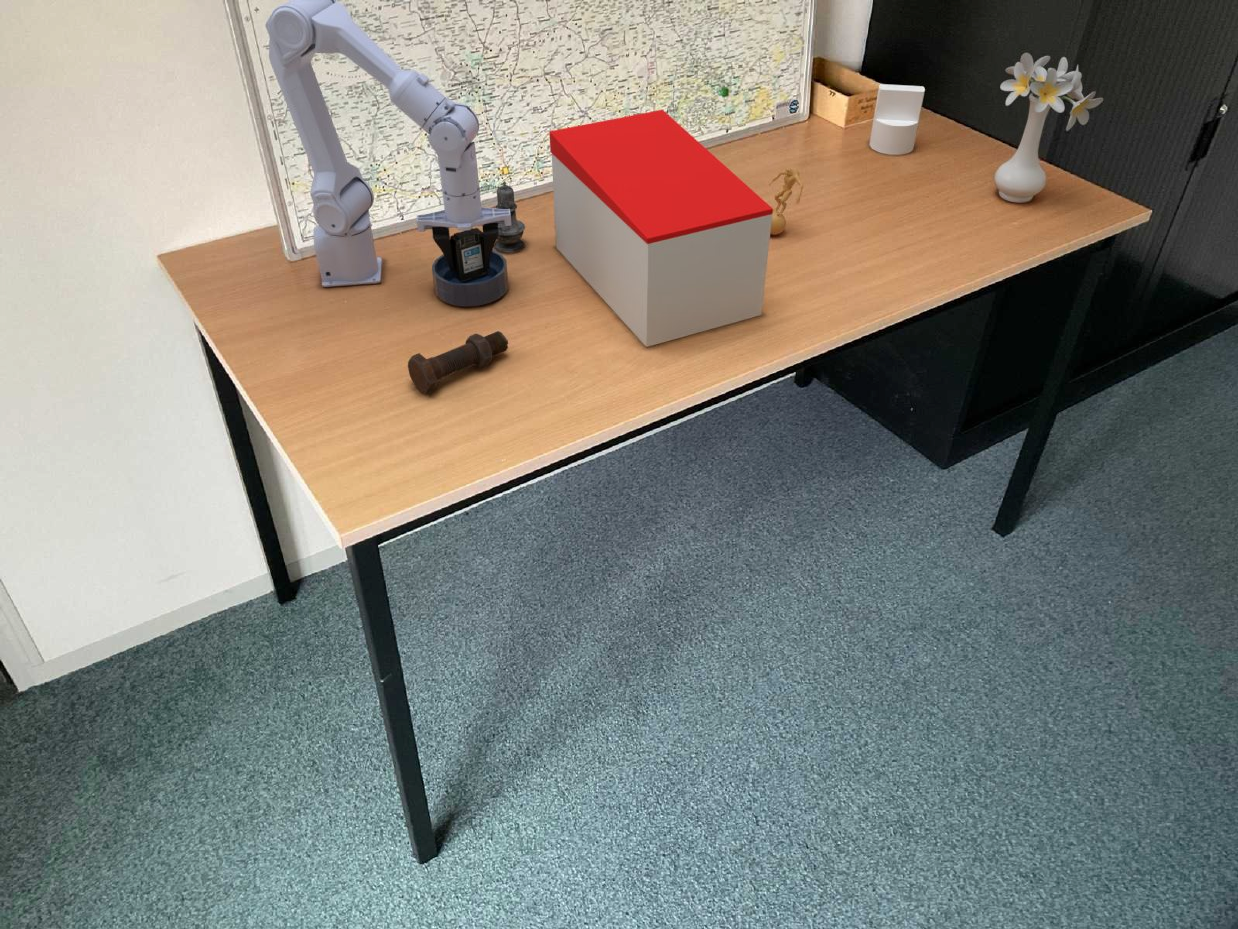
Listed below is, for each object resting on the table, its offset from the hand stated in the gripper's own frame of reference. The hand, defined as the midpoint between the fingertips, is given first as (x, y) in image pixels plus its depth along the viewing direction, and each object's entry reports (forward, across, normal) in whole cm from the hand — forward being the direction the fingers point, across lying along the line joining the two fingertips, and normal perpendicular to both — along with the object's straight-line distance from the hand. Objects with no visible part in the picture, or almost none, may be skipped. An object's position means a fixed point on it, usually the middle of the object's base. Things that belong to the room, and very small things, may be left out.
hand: (469, 266), depth 163 cm
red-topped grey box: (+4, +30, -1) cm, 30 cm away
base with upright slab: (+4, +88, +45) cm, 99 cm away
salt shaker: (+4, +7, +14) cm, 16 cm away
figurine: (+4, +55, +12) cm, 56 cm away
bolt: (+4, -2, -23) cm, 24 cm away
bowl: (+4, 0, 0) cm, 4 cm away
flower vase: (+4, +104, +19) cm, 106 cm away
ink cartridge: (+2, 0, 0) cm, 2 cm away
